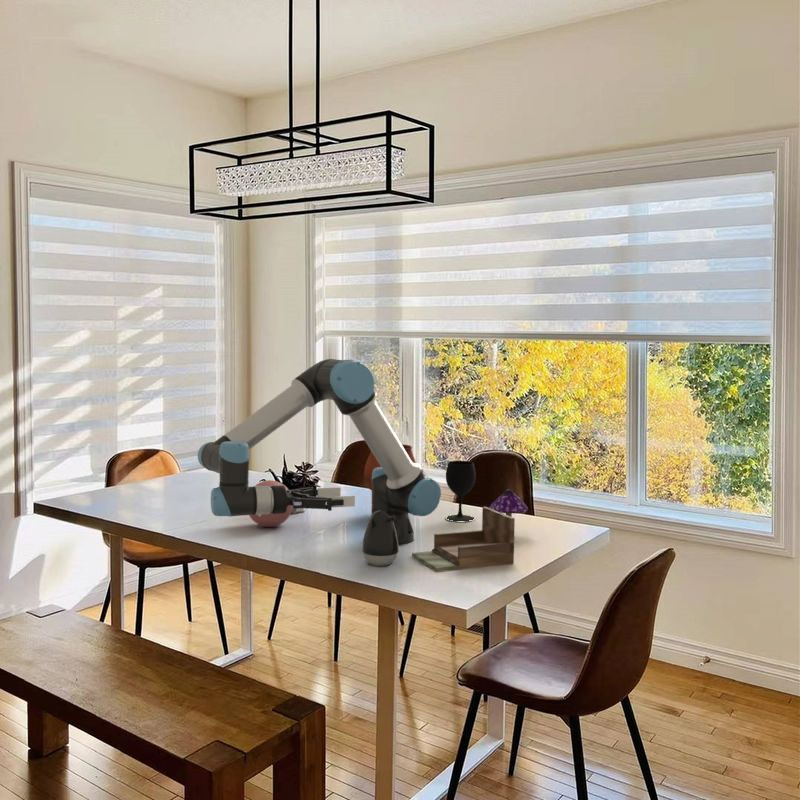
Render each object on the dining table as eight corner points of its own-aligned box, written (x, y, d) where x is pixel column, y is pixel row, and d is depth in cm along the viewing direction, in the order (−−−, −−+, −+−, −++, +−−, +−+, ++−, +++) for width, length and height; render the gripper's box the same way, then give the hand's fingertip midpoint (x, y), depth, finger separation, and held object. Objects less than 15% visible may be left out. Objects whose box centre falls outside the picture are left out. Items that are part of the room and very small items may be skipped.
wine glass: (465, 523, 291) (466, 465, 289) (439, 519, 296) (440, 463, 295) (480, 518, 299) (481, 462, 298) (454, 514, 305) (455, 459, 303)
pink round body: (249, 518, 294) (249, 474, 293) (301, 523, 287) (301, 478, 286) (225, 527, 280) (225, 481, 278) (279, 533, 273) (279, 486, 272)
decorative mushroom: (529, 532, 279) (530, 487, 278) (525, 541, 267) (526, 494, 266) (492, 529, 282) (492, 485, 281) (485, 538, 270) (486, 491, 269)
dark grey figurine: (381, 570, 231) (382, 515, 230) (354, 563, 238) (355, 510, 237) (406, 563, 239) (407, 510, 237) (379, 556, 246) (380, 505, 244)
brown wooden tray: (412, 556, 247) (412, 512, 246) (485, 549, 256) (486, 506, 255) (436, 571, 231) (437, 524, 230) (513, 563, 240) (514, 518, 239)
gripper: (261, 504, 238) (334, 501, 245) (280, 523, 215) (360, 519, 222) (261, 478, 237) (334, 475, 245) (280, 494, 214) (361, 490, 221)
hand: (347, 496), depth 233 cm, fingers open, 13 cm apart
